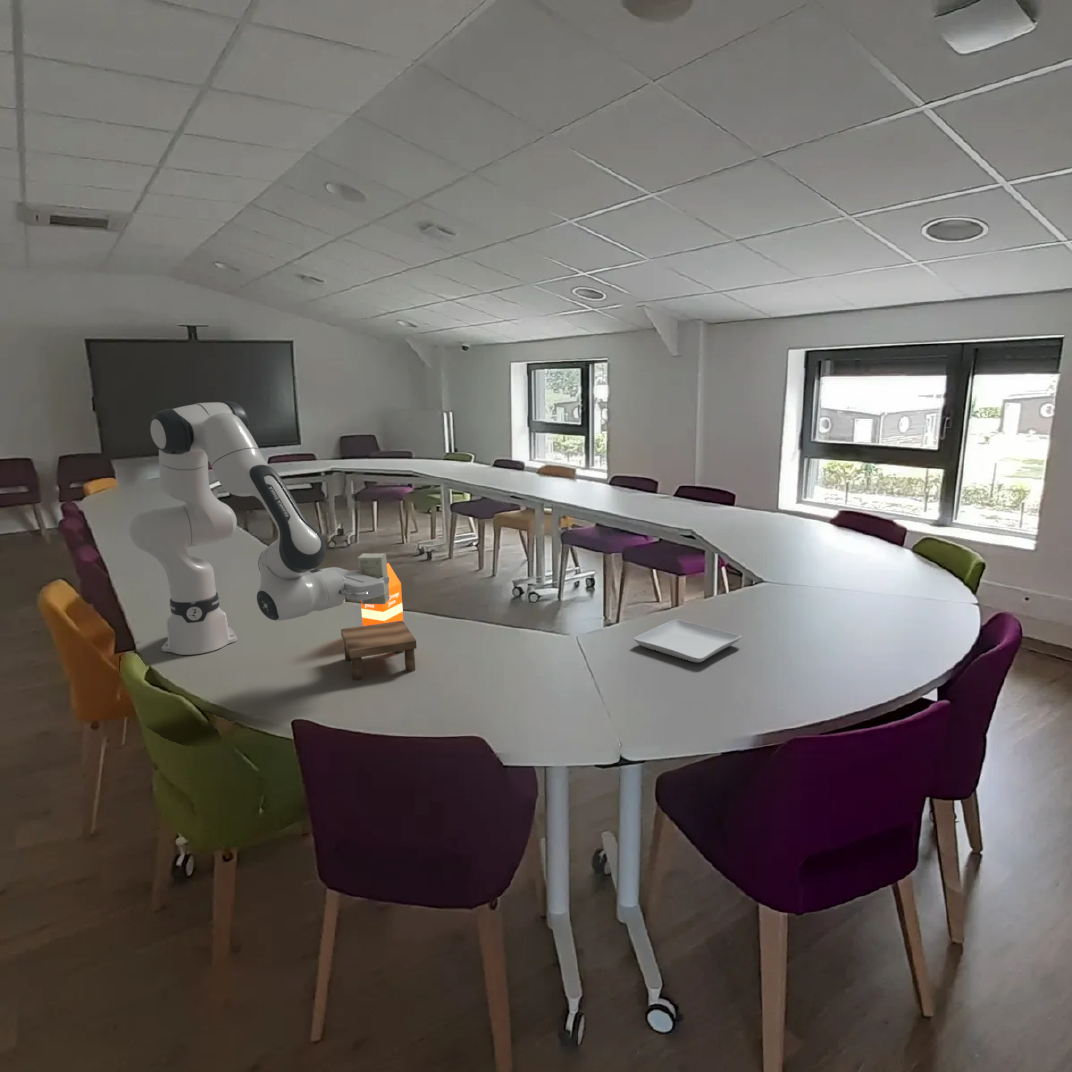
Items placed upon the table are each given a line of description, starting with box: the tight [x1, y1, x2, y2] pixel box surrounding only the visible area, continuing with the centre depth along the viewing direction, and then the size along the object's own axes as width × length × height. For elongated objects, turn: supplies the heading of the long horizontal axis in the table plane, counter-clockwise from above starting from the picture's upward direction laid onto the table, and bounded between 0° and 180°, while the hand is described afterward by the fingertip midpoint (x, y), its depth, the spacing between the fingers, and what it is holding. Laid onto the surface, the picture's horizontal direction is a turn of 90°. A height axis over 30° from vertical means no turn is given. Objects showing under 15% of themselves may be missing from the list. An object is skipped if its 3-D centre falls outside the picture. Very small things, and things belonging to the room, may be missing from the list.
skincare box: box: [357, 552, 390, 604], centre depth 175 cm, size 6×4×12 cm
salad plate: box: [633, 618, 742, 663], centre depth 189 cm, size 21×21×3 cm
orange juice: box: [360, 562, 404, 626], centre depth 199 cm, size 8×9×20 cm
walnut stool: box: [340, 620, 417, 682], centre depth 179 cm, size 16×16×8 cm
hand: (376, 576), depth 175 cm, fingers closed on skincare box, 7 cm apart
